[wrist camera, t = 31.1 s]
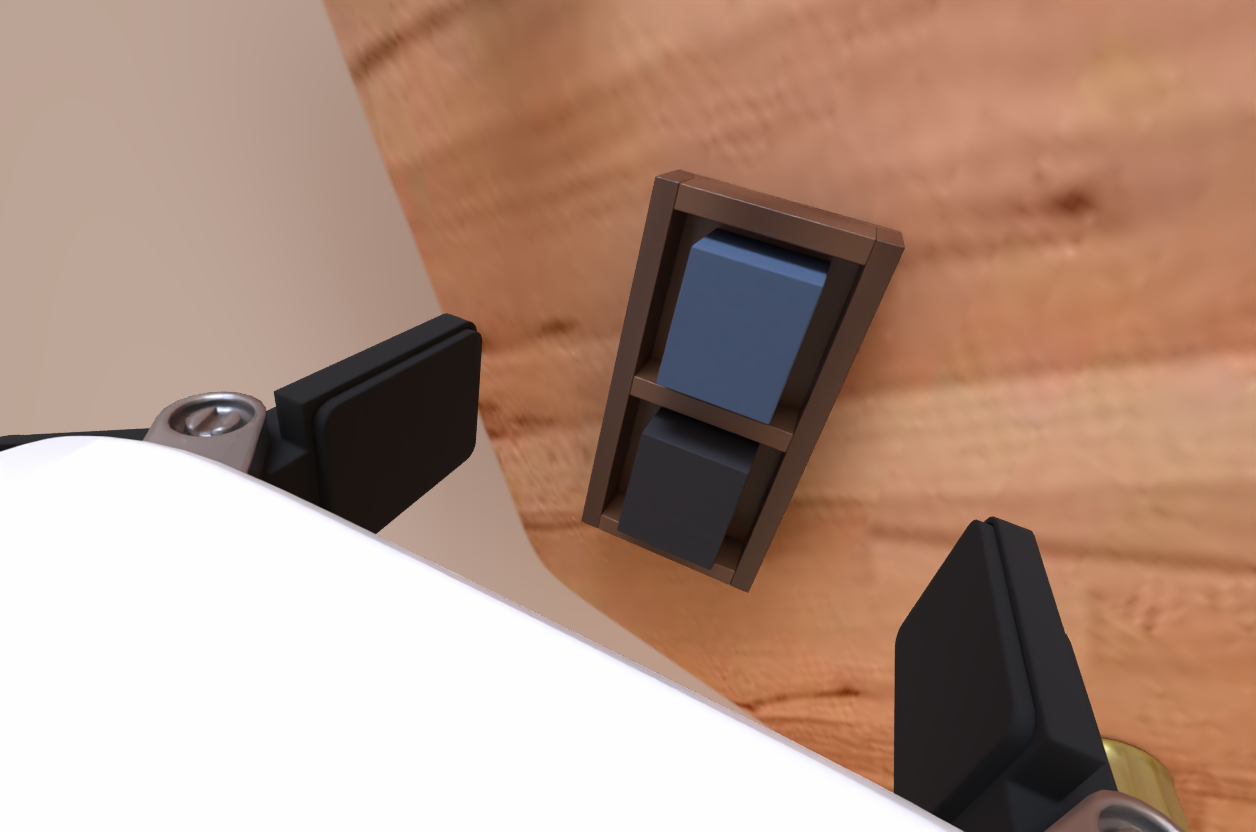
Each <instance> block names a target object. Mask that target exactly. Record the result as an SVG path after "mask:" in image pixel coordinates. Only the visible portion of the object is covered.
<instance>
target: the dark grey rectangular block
mask: <svg viewBox="0 0 1256 832" xmlns="http://www.w3.org/2000/svg"><path fill="white" fill-rule="evenodd" d="M759 444H760V443H759V442H756V441H753V440H751V439H748V438H745V437H743V436H740V435H737V434H734V433H732V432H729V431H726V430H724V429H721V428H718V427H716V426H713V425H710V424H708V423H705V422H702V421H700V420H697V419H694V418H692V417H689V416H686V415H684V414H681V413H678V412H675V411H673V410H670V409H667V408H665V407H662V406H661V408H660V409H659V410H658V412H657V413H656V414H655V416H654V417H653V419H652V420H651V421H650V423H649V424H648V425H647V427H646V428H645V430H644V431H643V432H642V435H641V439H640V443H639V446H638V450H637V454H636V458H635V462H634V466H633V469H632V473H631V477H630V481H629V485H628V489H627V493H626V496H625V500H624V504H623V508H622V512H621V516H620V519H619V523H618V527H617V530H618V531H620V532H622V533H624V534H627V535H629V536H631V537H634V538H636V539H638V540H641V541H643V542H645V543H648V544H650V545H652V546H655V547H657V548H659V549H662V550H664V551H666V552H669V553H671V554H673V555H676V556H678V557H680V558H683V559H685V560H688V561H690V562H692V563H695V564H697V565H699V566H702V567H704V568H706V569H709V570H711V569H712V567H713V565H714V562H715V559H716V557H717V554H718V552H719V549H720V547H721V544H722V542H723V539H724V537H725V534H726V531H727V529H728V526H729V524H730V521H731V519H732V516H733V514H734V511H735V509H736V506H737V503H738V501H739V498H740V496H741V493H742V491H743V488H744V486H745V483H746V481H747V478H748V475H749V473H750V470H751V467H752V464H753V461H754V459H755V456H756V453H757V450H758V447H759Z"/></svg>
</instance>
